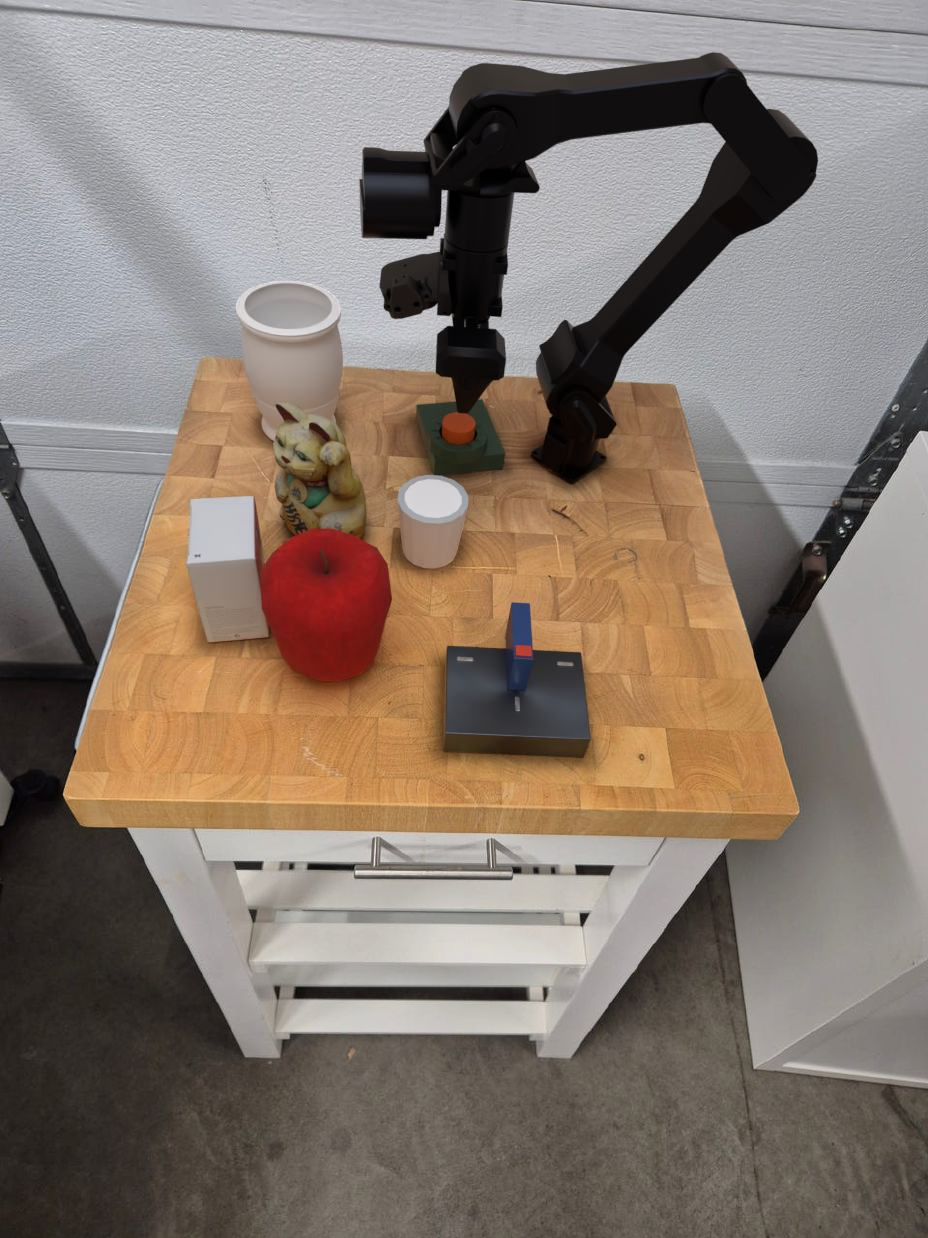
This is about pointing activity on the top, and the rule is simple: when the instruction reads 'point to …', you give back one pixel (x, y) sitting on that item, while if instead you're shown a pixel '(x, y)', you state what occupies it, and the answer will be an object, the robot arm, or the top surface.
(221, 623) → the small box
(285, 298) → the jar
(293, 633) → the apple
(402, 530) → the white cup
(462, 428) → the button
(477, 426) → the button base
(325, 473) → the lucky beckoning cat
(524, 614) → the tap handle
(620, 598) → the top surface
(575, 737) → the tap plate
